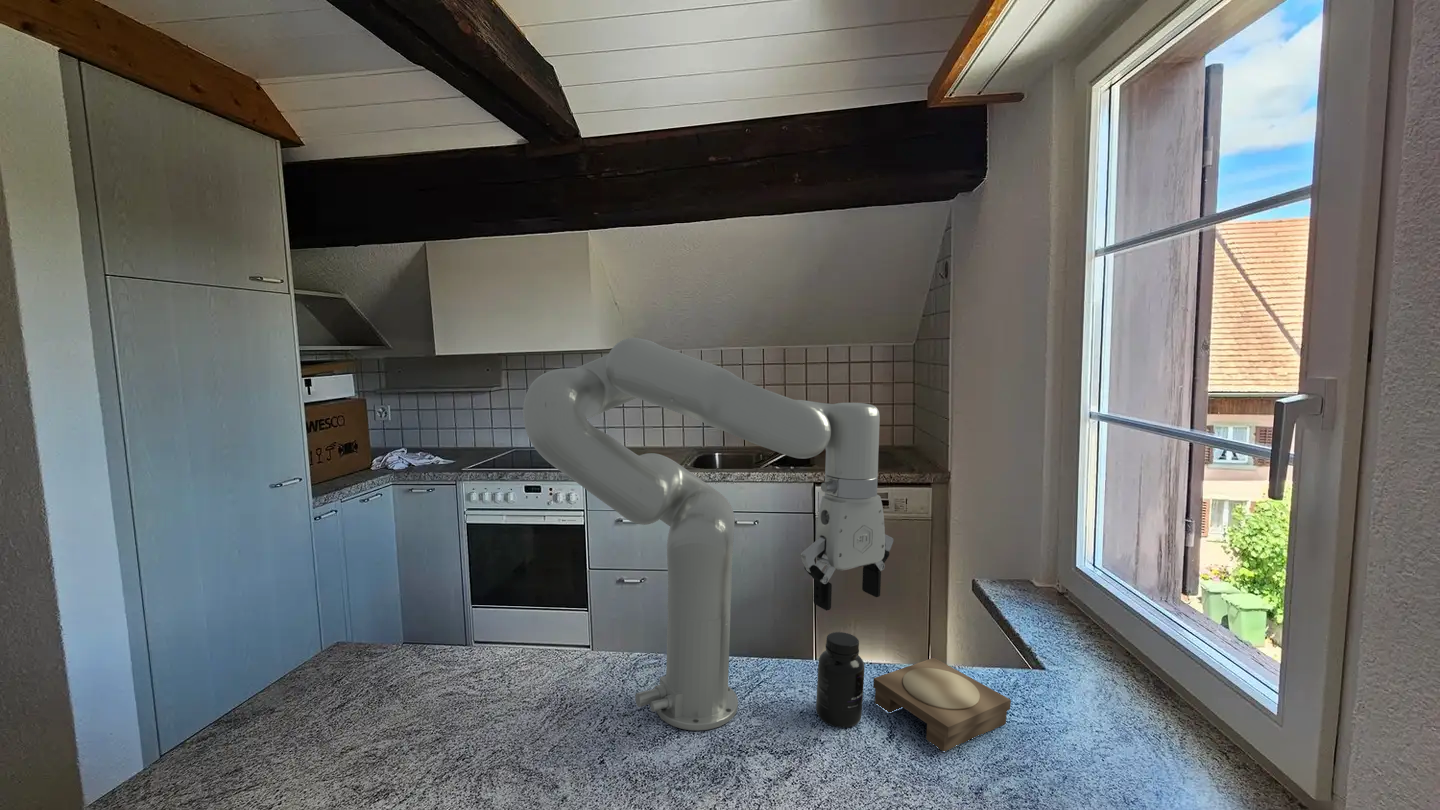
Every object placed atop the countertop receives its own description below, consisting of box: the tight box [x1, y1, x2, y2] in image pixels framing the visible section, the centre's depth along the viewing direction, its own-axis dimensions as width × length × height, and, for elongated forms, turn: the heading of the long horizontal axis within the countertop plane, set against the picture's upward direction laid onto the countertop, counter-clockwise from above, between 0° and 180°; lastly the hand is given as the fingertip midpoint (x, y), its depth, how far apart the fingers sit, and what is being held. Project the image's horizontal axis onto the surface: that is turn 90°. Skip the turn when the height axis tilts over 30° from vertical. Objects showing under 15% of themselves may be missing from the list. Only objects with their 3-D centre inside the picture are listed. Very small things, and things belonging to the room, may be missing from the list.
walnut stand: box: [872, 657, 1012, 752], centre depth 91 cm, size 14×14×4 cm
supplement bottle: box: [815, 631, 865, 728], centre depth 89 cm, size 7×7×12 cm
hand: (847, 600), depth 88 cm, fingers open, 9 cm apart
